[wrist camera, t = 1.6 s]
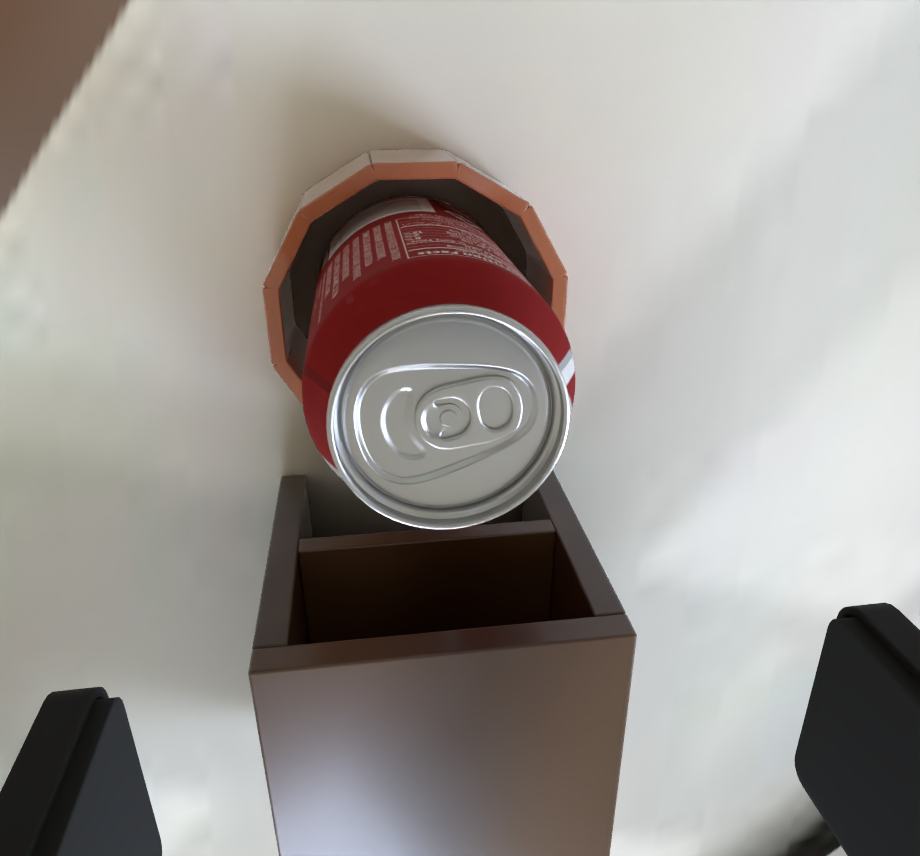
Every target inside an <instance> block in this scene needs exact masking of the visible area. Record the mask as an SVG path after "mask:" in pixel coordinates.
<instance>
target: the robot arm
mask: <svg viewBox="0 0 920 856" xmlns="http://www.w3.org/2000/svg"><path fill="white" fill-rule="evenodd" d="M795 768H796V772H797V775H798V778H799V780H800V782H801V784H802V786H803V788H804V789H805V791H806V792H807V794H808V795H809V797H810V798H811V800H812V801H813V803H814V804H815V806H816V808H817V809H818V811H819V812H820V814H821V815H822V817H823V818H824V820H825V821H826V823H827V824H828V826H829V828H830V829H831V831H832V832H833V834H834V835H835V837H836V838H837V840H838V841H839V843H840V845H841V846H842V848H843V849H844V851H845V852H846V854H847V855H848V856H920V630H919V629H918V628H917V627H916V626H915V625H914V624H913V623H912V622H911V621H910V620H909V619H907V618H906V617H905V616H904V615H903V614H902V613H901V612H900V611H899V610H898V609H897V608H895V607H894V606H893V605H891V604H887V603H878V604H868V605H859V606H850V607H845V608H843V609H842V610H841V611H840V612H839V614H838V616H837V619H833V620H832V621H831V622H830V623H829V626H828V629H827V633H826V637H825V640H824V644H823V648H822V652H821V656H820V660H819V664H818V668H817V672H816V676H815V680H814V683H813V687H812V691H811V695H810V699H809V703H808V707H807V711H806V715H805V719H804V723H803V726H802V730H801V734H800V738H799V742H798V746H797V750H796V754H795ZM0 856H162V845H161V839H160V835H159V832H158V828H157V824H156V821H155V817H154V813H153V810H152V806H151V802H150V799H149V795H148V791H147V788H146V784H145V780H144V777H143V773H142V769H141V766H140V762H139V758H138V755H137V751H136V747H135V744H134V740H133V736H132V733H131V729H130V725H129V722H128V718H127V714H126V711H125V707H124V704H123V701H122V699H121V698H120V697H116V698H109V697H108V695H107V692H106V690H105V689H104V688H103V687H94V688H85V689H75V690H66V691H57V692H52V693H50V694H49V695H48V696H47V697H46V699H45V701H44V702H43V704H42V706H41V708H40V710H39V713H38V715H37V717H36V719H35V721H34V723H33V725H32V727H31V729H30V731H29V733H28V736H27V738H26V740H25V742H24V744H23V746H22V748H21V750H20V752H19V754H18V756H17V759H16V761H15V763H14V765H13V767H12V769H11V771H10V773H9V775H8V777H7V780H6V782H5V784H4V786H3V788H2V790H1V792H0Z"/></svg>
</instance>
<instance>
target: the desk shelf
mask: <svg viewBox="0 0 920 856" xmlns="http://www.w3.org/2000/svg"><path fill="white" fill-rule="evenodd" d="M636 638H637V635H636V632H635V631H634V629H633V627H632V625H631V623H630V621H629V619H628V617H627V615H626V614H625V611H624V609H623V607H622V605H621V603H620V601H619V599H618V597H617V595H616V593H615V591H614V589H613V587H612V585H611V583H610V581H609V579H608V577H607V575H606V573H605V571H604V569H603V568H602V566H601V564H600V562H599V560H598V558H597V556H596V554H595V552H594V550H593V548H592V546H591V544H590V542H589V540H588V538H587V536H586V534H585V532H584V530H583V528H582V526H581V524H580V522H579V520H578V519H577V517H576V515H575V513H574V511H573V509H572V507H571V505H570V503H569V501H568V499H567V497H566V495H565V493H564V491H563V489H562V487H561V485H560V483H559V481H558V479H557V477H556V475H555V473H554V471H553V470H552V471H551V473H550V474H549V476H548V477H547V478H546V480H545V481H544V482H543V483H542V485H541V486H540V487H539V488H538V489H537V490H536V491H535V492H534V493H533V494H532V495H531V496H530V497H529V498H527V499H526V500H525V501H523V518H522V522H511V523H498V524H485V525H473V526H470V527H464V528H457V529H421V530H409V531H396V532H383V533H370V534H358V535H345V536H332V537H319V538H313V535H312V526H311V517H310V507H309V498H308V489H307V480H306V476H305V475H302V476H288V477H281V481H280V487H279V493H278V499H277V505H276V511H275V517H274V523H273V529H272V535H271V541H270V547H269V553H268V558H267V564H266V570H265V576H264V582H263V588H262V594H261V600H260V606H259V612H258V618H257V624H256V630H255V635H254V641H253V647H252V649H253V651H252V654H251V660H250V666H249V672H248V675H249V681H250V687H251V692H252V698H253V704H254V710H255V716H256V722H257V728H258V734H259V740H260V746H261V751H262V757H263V763H264V769H265V775H266V781H267V787H268V793H269V799H270V805H271V811H272V816H273V822H274V828H275V834H276V840H277V846H278V852H279V856H609V855H610V847H611V839H612V831H613V822H614V814H615V806H616V798H617V790H618V782H619V774H620V766H621V758H622V750H623V742H624V734H625V726H626V718H627V710H628V702H629V694H630V686H631V678H632V670H633V662H634V654H635V646H636Z"/></svg>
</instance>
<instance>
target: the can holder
mask: <svg viewBox="0 0 920 856" xmlns="http://www.w3.org/2000/svg"><path fill="white" fill-rule="evenodd" d="M425 179H455V180H457V181H459V182H461V183H462V184H464V185H466V186H467V187H469V188H471V189H473V190H474V191H476V192H478V193H479V194H481V195H483V196H485V197H486V198H488V199H490V200H491V201H493V202H495V203H497V204H498V205H500V206H502V208H503V210H504V212H505V214H506V216H507V218H508V219H509V221H510V223H511V225H512V227H513V229H514V230H515V232H516V234H517V236H518V238H519V240H520V242H521V243H522V245H523V247H524V249H525V251H526V253H527V257H526V279H527V280H528V281H529V282H530V284H531V285H532V286H533V287H534V288H535V289H536V291H537V292H538V293H539V294H540V295H541V296H542V298H543V299H544V300H545V301H546V302H547V304H548V305H549V306H550V307H551V308H552V310H553V311H554V313H555V315H556V316H557V318H558V319H559V321H560V323H561V325H562V327H563V329H564V331H565V315H566V297H567V280H568V277H567V275H566V270H565V268H564V266H563V264H562V262H561V261H560V259H559V257H558V255H557V253H556V251H555V249H554V247H553V245H552V243H551V241H550V239H549V238H548V236H547V234H546V232H545V230H544V228H543V226H542V224H541V222H540V220H539V218H538V216H537V215H536V213H535V211H534V209H533V207H532V206H531V205H530V204H529V203H528V202H527V201H526V200H524V199H523V198H522V197H520V196H519V195H518V194H516V193H515V192H513V191H512V190H511V189H509V188H508V187H507V186H505V185H504V184H502V183H500V182H499V181H497V180H495V179H494V178H492V177H490V176H489V175H487V174H485V173H483V172H482V171H480V170H478V169H477V168H475V167H473V166H472V165H470V164H468V163H467V162H465V161H463V160H462V159H460V158H458V157H457V156H455V155H453V154H452V153H450V152H448V151H446V150H445V151H443V150H442V149H409V150H370V151H369V153H368V152H365V153H363V154H362V155H360V156H358V157H357V158H355V159H354V160H352V161H351V162H349V163H348V164H346V165H345V166H343V167H342V168H340V169H339V170H337V171H335V172H334V173H332V174H331V175H329V176H328V177H326V178H325V179H323V180H322V181H320V182H319V183H317V184H315V185H314V186H312V187H311V188H309V189H308V190H307V191H306V193H304V194H303V196H302V198H301V201H300V203H299V205H298V207H297V209H296V211H295V213H294V216H293V218H292V220H291V222H290V224H289V226H288V228H287V231H286V233H285V235H284V237H283V239H282V241H281V244H280V246H279V248H278V250H277V252H276V254H275V257H274V259H273V261H272V264H271V266H270V269H269V271H268V274H267V276H266V279H265V281H264V284H263V285H264V287H263V297H264V305H265V313H266V322H267V330H268V338H269V346H270V354H271V362H272V364H274V366H273V367H274V369H275V370H276V371H277V372H278V374H279V375H280V376H281V378H282V379H283V380H284V382H285V383H286V384H287V385H288V387H289V388H290V389H291V391H292V392H293V393H294V394H295V396H296V397H297V398H298V400H299V401H300V402H301V403H302V405H303V402H302V377H303V368H304V362H305V355H306V349H307V342H308V341H307V339H306V338H305V337H304V335H303V334H302V333H301V331H300V330H299V328H298V327H297V326H296V324H295V318H294V308H293V299H292V289H291V280H290V270H289V269H290V267H291V264H292V262H293V260H294V258H295V256H296V254H297V252H298V250H299V248H300V245H301V243H302V241H303V239H304V237H305V235H306V233H307V231H308V229H309V227H310V224H311V223H312V222H313V221H315V220H316V219H318V218H319V217H321V216H322V215H324V214H326V213H327V212H329V211H330V210H332V209H333V208H335V207H336V206H338V205H340V204H341V203H343V202H344V201H346V200H347V199H349V198H350V197H352V196H353V195H355V194H357V193H358V192H360V191H361V190H363V189H364V188H366V187H367V186H369V185H371V184H372V183H374V182H375V181H382V180H425Z"/></svg>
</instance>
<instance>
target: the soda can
mask: <svg viewBox="0 0 920 856" xmlns="http://www.w3.org/2000/svg"><path fill="white" fill-rule="evenodd" d="M574 393H575V367H574V361H573V355H572V351H571V347H570V343H569V341H568V338H567V336H566V333H565V331H564V329H563V327H562V325H561V323H560V321H559V319H558V318H557V316H556V315H555V313H554V311H553V310H552V308H551V307H550V306H549V305H548V304H547V302H546V301H545V300H544V299H543V298H542V296H541V295H540V294H539V293H538V292H537V291H536V289H535V288H534V287H533V286H532V285H531V284H530V282H529V281H528V280H527V279H526V278H525V277H524V276H523V274H522V273H521V272H520V271H519V270H518V269H517V267H516V266H515V265H514V264H513V263H512V262H511V260H510V259H509V258H508V257H507V256H506V255H505V254H504V252H503V251H502V250H501V249H500V248H499V247H498V245H497V244H496V243H495V242H494V241H493V240H492V238H491V237H490V236H489V235H488V234H487V233H486V231H485V230H484V229H483V228H482V227H481V226H480V225H479V224H478V223H477V222H476V221H475V220H474V219H473V218H471V217H470V216H469V215H468V214H466V213H465V212H463V211H462V210H460V209H459V208H457V207H455V206H453V205H451V204H448V203H446V202H443V201H440V200H437V199H433V198H427V197H420V196H403V197H395V198H391V199H386V200H383V201H380V202H377V203H375V204H372V205H370V206H368V207H366V208H365V209H363V210H361V211H360V212H358V213H357V214H355V215H354V216H353V217H351V218H350V219H349V220H348V221H347V222H346V223H345V224H344V225H343V226H342V227H341V228H340V229H339V230H338V231H337V232H336V234H335V235H334V237H333V238H332V240H331V241H330V243H329V245H328V246H327V248H326V250H325V253H324V255H323V257H322V261H321V264H320V267H319V272H318V277H317V284H316V290H315V297H314V303H313V310H312V316H311V323H310V329H309V336H308V342H307V349H306V355H305V362H304V368H303V377H302V402H303V410H304V415H305V419H306V423H307V426H308V429H309V432H310V435H311V437H312V439H313V441H314V443H315V445H316V447H317V449H318V451H319V452H320V454H321V456H322V457H323V458H324V460H325V461H326V462H327V464H328V465H329V466H330V468H331V469H332V470H333V471H334V472H335V473H336V474H337V475H338V476H339V477H340V478H341V479H342V480H343V481H345V483H346V484H347V485H348V487H349V488H350V489H351V490H352V491H353V493H354V494H355V495H356V496H357V497H358V498H359V499H360V500H362V501H363V502H364V503H365V504H366V505H368V506H369V507H370V508H372V509H373V510H375V511H376V512H378V513H380V514H382V515H383V516H385V517H388V518H390V519H392V520H394V521H397V522H400V523H403V524H406V525H410V526H414V527H419V528H425V529H457V528H464V527H470V526H473V525H477V524H481V523H484V522H487V521H490V520H492V519H494V518H497V517H499V516H501V515H503V514H505V513H507V512H509V511H510V510H512V509H513V508H515V507H517V506H518V505H520V504H521V503H522V502H523V501H525V500H526V499H527V498H529V497H530V496H531V495H532V494H533V493H534V492H535V491H536V490H537V489H538V488H539V487H540V486H541V485H542V483H543V482H544V481H545V480H546V478H547V477H548V476H549V474H550V473H551V471H552V470H553V468H554V466H555V465H556V463H557V461H558V459H559V457H560V455H561V453H562V450H563V447H564V445H565V441H566V437H567V433H568V427H569V417H570V413H571V409H572V406H573V400H574Z"/></svg>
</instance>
